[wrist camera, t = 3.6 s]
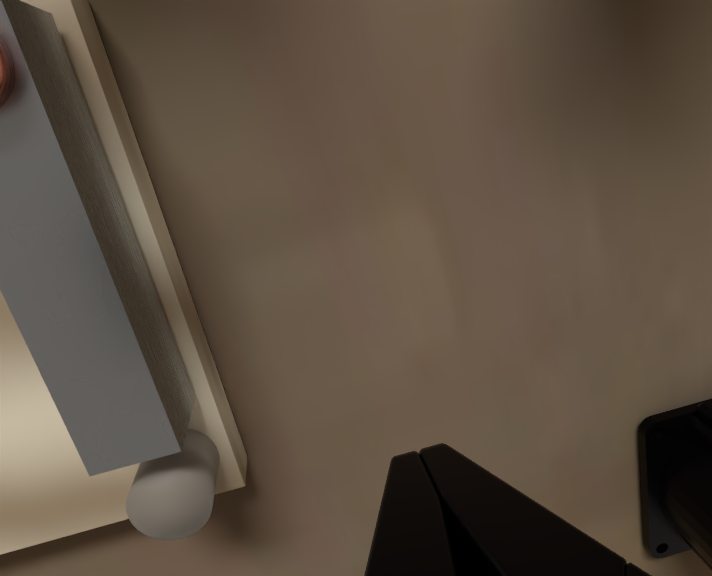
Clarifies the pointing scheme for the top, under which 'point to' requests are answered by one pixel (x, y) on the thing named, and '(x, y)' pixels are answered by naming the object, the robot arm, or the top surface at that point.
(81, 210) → the folding leg
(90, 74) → the stool seat
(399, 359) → the top surface
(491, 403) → the top surface
